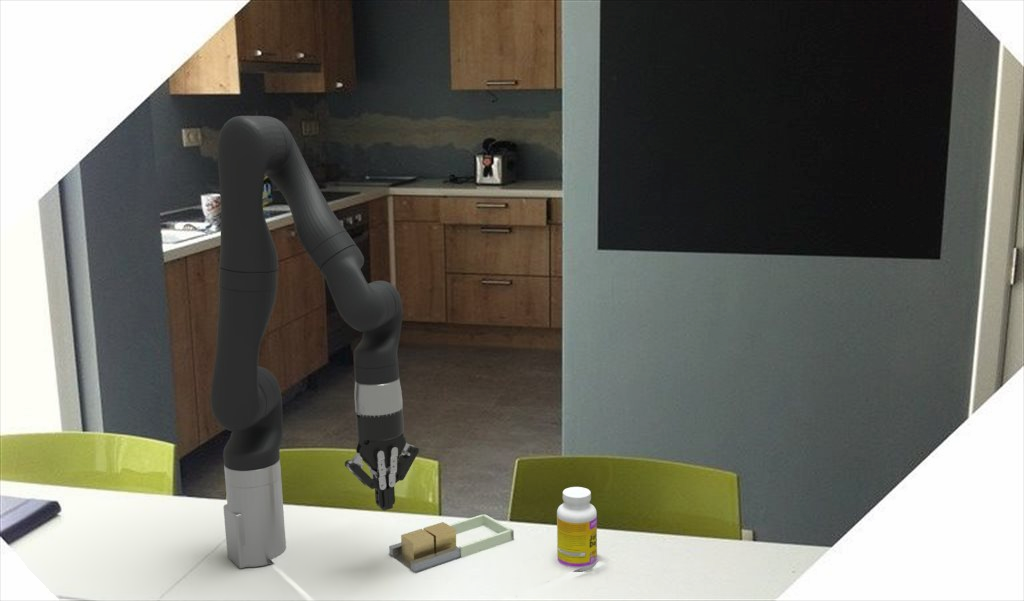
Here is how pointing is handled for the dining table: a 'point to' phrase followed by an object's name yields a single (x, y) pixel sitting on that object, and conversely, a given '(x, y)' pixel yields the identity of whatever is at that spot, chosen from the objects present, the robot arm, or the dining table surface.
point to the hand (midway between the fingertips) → (385, 508)
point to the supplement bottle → (577, 530)
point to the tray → (502, 537)
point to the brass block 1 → (417, 545)
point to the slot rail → (425, 558)
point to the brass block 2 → (442, 536)
